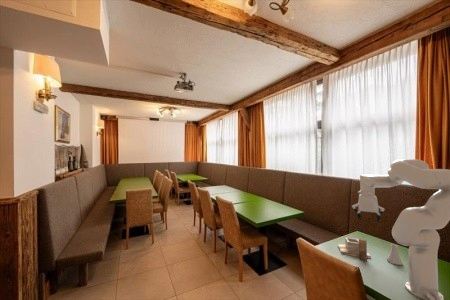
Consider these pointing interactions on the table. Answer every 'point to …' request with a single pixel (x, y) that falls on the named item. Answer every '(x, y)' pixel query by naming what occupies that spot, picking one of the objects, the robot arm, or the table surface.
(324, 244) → the table surface
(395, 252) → the flask
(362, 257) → the dowel
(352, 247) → the socket block
